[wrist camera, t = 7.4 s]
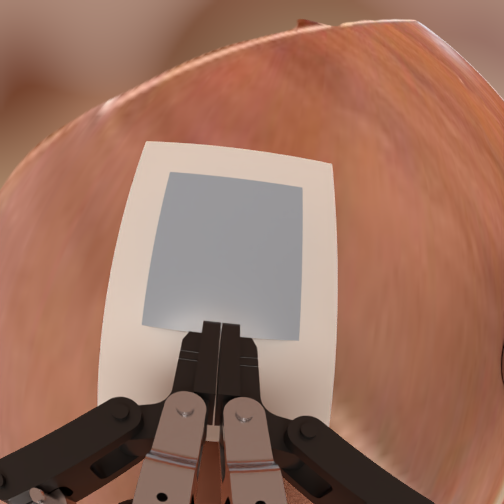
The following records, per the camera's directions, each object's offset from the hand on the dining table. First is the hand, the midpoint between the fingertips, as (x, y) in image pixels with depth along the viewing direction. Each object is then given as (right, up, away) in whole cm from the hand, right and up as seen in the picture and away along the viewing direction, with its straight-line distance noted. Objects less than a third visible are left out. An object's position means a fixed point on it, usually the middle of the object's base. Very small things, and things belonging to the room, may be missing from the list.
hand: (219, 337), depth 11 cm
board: (-1, +1, +8) cm, 8 cm away
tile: (-1, -1, +5) cm, 5 cm away
